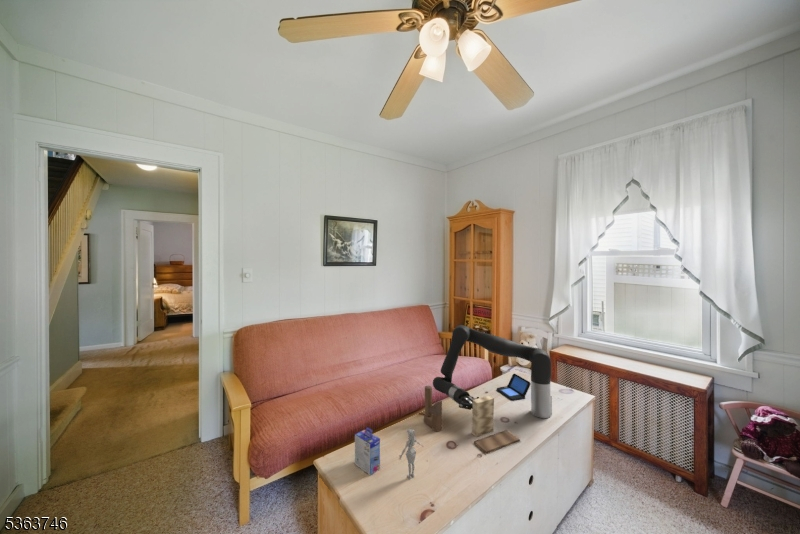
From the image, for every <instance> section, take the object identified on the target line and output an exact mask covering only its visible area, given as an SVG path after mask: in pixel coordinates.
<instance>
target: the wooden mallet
mask: <svg viewBox="0 0 800 534" xmlns="http://www.w3.org/2000/svg"><path fill="white" fill-rule="evenodd" d="M423 422H424V423H425V424H426V425H427V426H429V427H430V428H432V430H434V431H435V432H440V431H443V401H442V400H440V401H435V403H434V404H433V388H432V386H431V385H426V386H424V414H423Z"/></svg>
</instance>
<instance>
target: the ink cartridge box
mask: <svg viewBox="0 0 800 534" xmlns="http://www.w3.org/2000/svg"><path fill="white" fill-rule="evenodd" d="M373 431H374V430H373V429H371V428H370V427H366V429H362V430H361V431H359V432H356V433H355V434H354V465H356V466H357V467H358V468H359V469H361V470H362V471H364V472H365V473H366V474H367V475H369V476H371V475H373V474H375V473H376V472H378V471H380V469H381V452H380V451H381V448H380V447H381V444H380V443H381V440H380V439H381V438H380V437H378V436H377V435H374V434H373ZM377 470H378V471H377Z"/></svg>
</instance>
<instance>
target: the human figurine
mask: <svg viewBox="0 0 800 534" xmlns="http://www.w3.org/2000/svg"><path fill="white" fill-rule="evenodd" d="M406 433H407V436H408V440H407V441H405V442H406V444H405V447H404V448H403V449H402V452H401V454H400V455H399V458H398V461H401V460H402V457H403V455H404V454H405V452H406V454H405V455H406V456H405V458H406V460H407V463H408V464H407V466H408V474H406V478H408V479H409V480H410V479H412V478H413V477H415V473H414V472H415V471H414V470H415V462H416V461H415V460H416V454H417V450H416V448H415V447H414V446H415V443H416V444H417V445H420V446H422V447H424V445H423V444H421V443H420V441H418V440H417V439H416V431H415V429H410V428H409V429H408V430H407V431H406Z"/></svg>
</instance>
